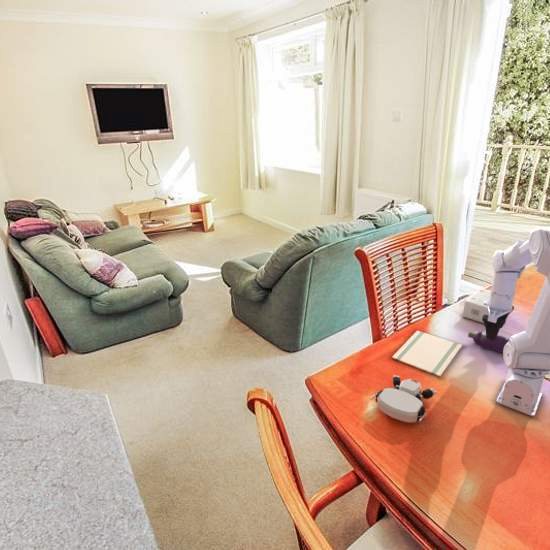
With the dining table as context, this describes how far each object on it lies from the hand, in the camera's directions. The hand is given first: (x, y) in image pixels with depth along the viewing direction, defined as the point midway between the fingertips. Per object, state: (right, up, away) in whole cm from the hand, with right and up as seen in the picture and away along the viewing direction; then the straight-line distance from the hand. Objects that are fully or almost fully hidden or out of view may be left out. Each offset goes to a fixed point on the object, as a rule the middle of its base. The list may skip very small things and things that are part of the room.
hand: (494, 332), depth 110 cm
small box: (+2, +4, +15) cm, 16 cm away
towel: (-19, -6, +2) cm, 20 cm away
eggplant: (0, -5, +2) cm, 5 cm away
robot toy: (-32, -16, -17) cm, 40 cm away
